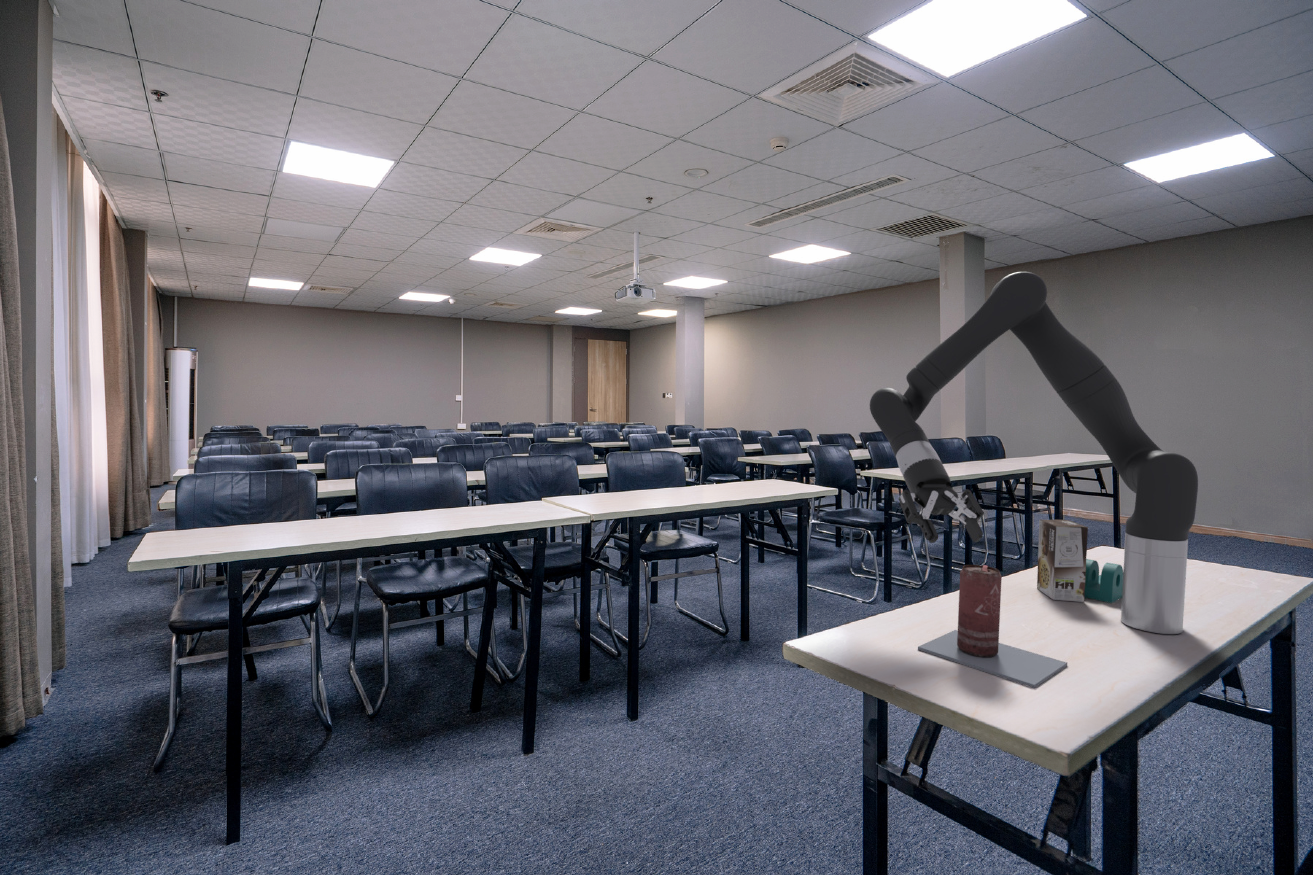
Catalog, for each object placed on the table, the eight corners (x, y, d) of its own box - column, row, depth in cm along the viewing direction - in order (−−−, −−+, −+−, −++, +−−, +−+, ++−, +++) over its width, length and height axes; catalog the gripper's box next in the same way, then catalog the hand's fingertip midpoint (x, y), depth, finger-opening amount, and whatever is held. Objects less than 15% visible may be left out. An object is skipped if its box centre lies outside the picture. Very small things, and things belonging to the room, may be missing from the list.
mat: (954, 632, 114) (955, 629, 114) (1067, 665, 100) (1067, 662, 100) (917, 649, 106) (917, 646, 106) (1034, 688, 92) (1034, 684, 92)
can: (999, 648, 105) (1002, 566, 104) (997, 661, 100) (1001, 575, 99) (959, 640, 108) (962, 561, 108) (955, 653, 103) (958, 569, 102)
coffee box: (1085, 602, 132) (1089, 527, 131) (1052, 600, 133) (1055, 525, 132) (1066, 590, 141) (1070, 519, 140) (1035, 588, 142) (1038, 518, 141)
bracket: (1111, 604, 132) (1113, 567, 132) (1075, 596, 137) (1076, 560, 137) (1138, 589, 143) (1140, 555, 143) (1103, 582, 148) (1105, 549, 148)
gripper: (895, 457, 118) (929, 529, 108) (964, 457, 120) (1003, 527, 110) (880, 481, 124) (911, 552, 113) (946, 480, 126) (982, 550, 115)
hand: (956, 540), depth 111 cm, fingers open, 8 cm apart
